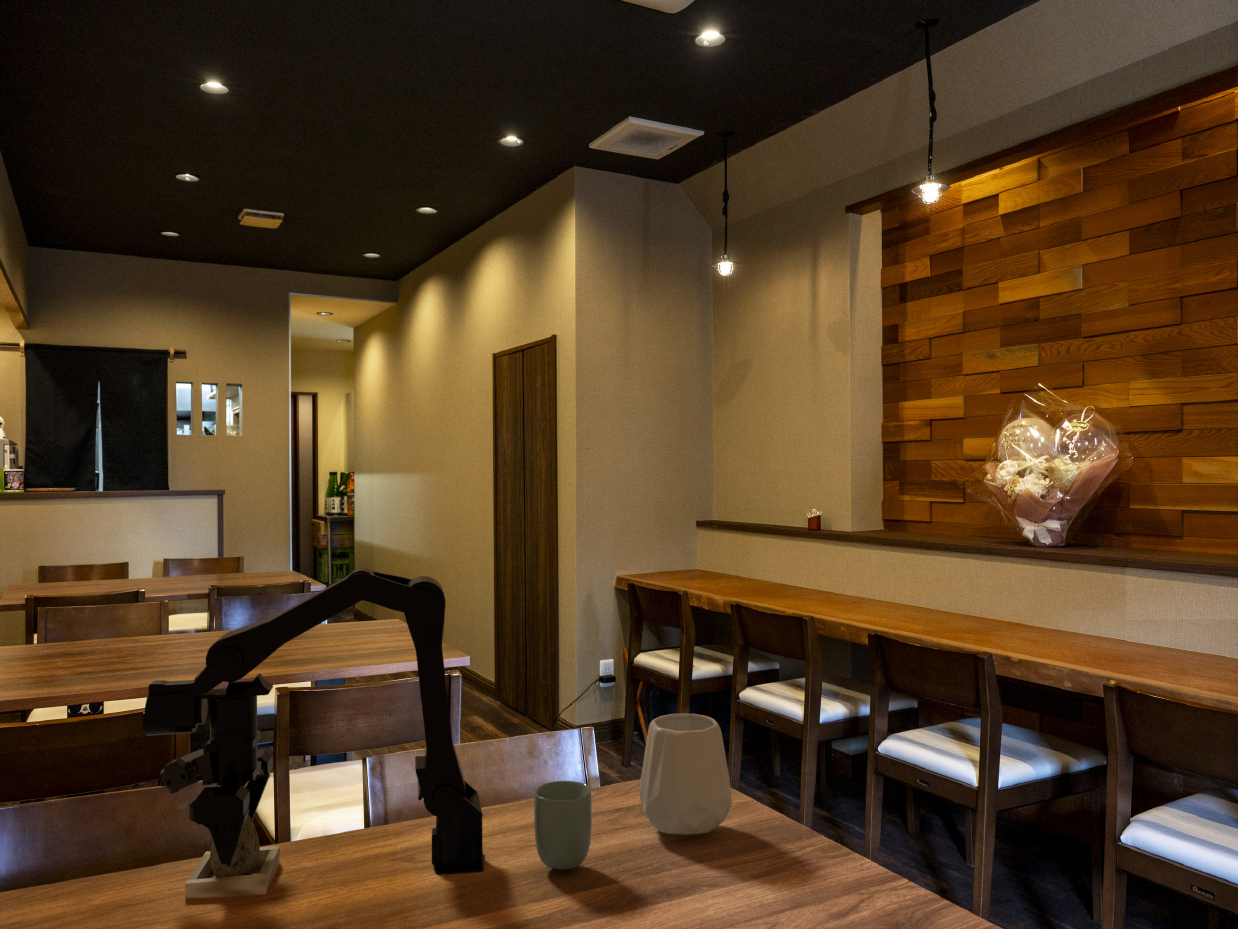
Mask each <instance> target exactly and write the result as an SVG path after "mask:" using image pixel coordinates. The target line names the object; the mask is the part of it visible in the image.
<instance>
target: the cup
mask: <svg viewBox="0 0 1238 929" xmlns="http://www.w3.org/2000/svg"><path fill="white" fill-rule="evenodd" d="M533 798H534V800H533V801H534V804H533V807H534V808H533V809H534V810H533V811H534V818H533V819H534V820H533V821H534V838H535V846H536V850H537V854H538V856H539V859H540V860H541V862H542V863H543V864H544V866H546V867H547V868H551V869H552V870H553V869H554V870H560V871H561V870H562V871H564V870H565V871H566V870H572V869H575V868H578V866H581V865H582V864H583V863H584V861H585V860H586V858H587V857H588V854H589V851H590V848H591V847H590V846H591V840H592V828H593V827H592V819H593V817H592V816H593V814H592V813H593V812H592V808H593V807H592V804H593V802H592V799H593V798H592V789H591V787H590V785H588V784H587V783H584V782H580V781H576V780H575V781H574V780H556V781H555V780H554V781H550V782H546V783H543V784H541V785H539V786H538V787H537V788H536V789H535V792H534V797H533Z"/></svg>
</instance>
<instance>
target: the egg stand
mask: <svg viewBox="0 0 1238 929" xmlns="http://www.w3.org/2000/svg"><path fill="white" fill-rule="evenodd" d="M259 847H260V854H259V860H258V864H257V866H256V868H261V869H260V871H259V873H258V874H252V875H243V876H230V877H218V878H216V877H209V878H208V876H209V875H210V874H209V873H211V872H212V868H211V863H210V852H211V850H210V851H208V850H206V851H205V853H204V854H203V856H202V857H201V859H200V860H199V861H198V863H197V865H196V866H195V868H194V869H193V871H192V872H191V874H190V876H189V877H188V878H187V880H186V881H185V883H184V898H194V899H209V898H211V899H212V898H226V897H245V896H256V895H257V896H260V895H266V894H267V892H268V889H269V887H270V885H271V884H272V880H273V879H274V877H275V875H276V872H277V870H278V868H279V866H280V864H281V851H280V850H281V845H272V846H259Z"/></svg>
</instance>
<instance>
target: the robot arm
mask: <svg viewBox="0 0 1238 929" xmlns="http://www.w3.org/2000/svg"><path fill="white" fill-rule="evenodd" d="M444 593H445V592H444V589H443V587H442V585H441V583H440V582H439V581H438V580H436V579H435V578H434V577H430V576H426V575H425V576H424V575H422V576H417V577H413V579H411V578H408V577H403V576H399V575H395V574H389V573H383V572H378V571H374V570H372V569H370V568H367V567H360V568H356V569H354V570H353V571H352V572H350V574H348V575H346V576H345V577H342V578H341V579H340V580H338V581H336V582H334V583H333V584H330V585H328V586H326V587H325V588H323V589H321V590H319V591H318V592H316V593H314V594H312V595H311V596H309V597H307V598H305V599H304V600H302V601H299V602H298V603H296V604H294V605H292V606H290V607H289V608H287V609H285V610H284V611H282V612H280V613H279V614H277V615H274V616H272V617H269V618H266V619H264V620H260V621H256V622H253V623H249V624H246V625H245V626H242V627H239V628H235V629H233V630H230V631H228V632H226V633H224V634H223V635H222V636H221V637H219V638H218V639H217V640H216V641H215V642H214V643H213V644H211V646H210V647H209V648H208V650H207V654H206V656H205V667H204V669H203V670H201V671H200V672H199V673H198V674H197V675H196V676H195V677H194V679H189V680H188V679H187V680H186V679H185V680H173V681H171V680H165V679H163V680H162V679H161V680H159V679H158V680H153V681H152V682H151V683H150V684H148V694H147V696H146V700H145V707H144V711H143V712H142V728H143V732H144V734H145V736H147V737H151V736H152V737H153V736H163V735H165V736H166V735H177V734H178V735H179V734H192V733H193V734H194V733H196V732H197V730H198V727H199V725H205V723H206V721H207V716H208V700H209V740H208V741H207V742H206V743H205V744H204V745H203V748H200V749H197V750H196V751H193V752H190V753H187V754H186V755H183V756H181V757H178V758H175V759H173V760H172V761H168V762H167V763H166V764H165V765H164V767H163V768H162V769H161V770H160V773H159V776H160V781H159V786H160V787H162V788H163V787H164V788H166V789H167V790H166V791H168V793H169V795H173V794H175V793H176V794H177V793H178V792H180V790H181V789H184V788H186V787H190V786H192V785H194V784H196V783H198V782H200V781H202V782H201V784H202V786H205V787H204V788H203V789H202V790H201V791H200V792H199V793H198V794H197V795H196V796H195V798H194V799H193V800H192V801H191V802H190V804H188V805H189V809H188V810H189V812H188V813H189V815H188V816H189V821H191V822H194V823H195V824H196V825H202V827H203V826H204V827H205V828H207V829H208V831H209V833H210V836H211V838H212V840H213V842H214V845H215V848H216V851H217V854H218V857H219V860H220V863H221V864H222V865H224V864H230V862H231V860H232V857H233V855H234V852H235V849H236V846H237V843H238V841H239V838H240V835H241V832H242V829H243V826H244V824H245V821H246V818H247V815H248V814H249V816H250V817H251V819H252V821H253V820H254V818H255V814H256V812H257V809H258V807H259V804H260V802H261V800H262V798H263V794H264V791H265V790H266V787H267V784H268V782H269V779H270V777H271V772H272V770H273V768H274V766H273V763H274V762H273V757H274V756H273V754H271V753H270V752H269V751H268V750H267V749H258V743H259V741H260V740H261V739H262V735H261V734H262V731H261V730H260V729H259V730H258V696H259V697H260V696H268V695H270V693H271V691H272V689H273V688H274V685H273V683H271V682H269V681H268V680H267V679H265V677H264V676H263V675H262V674H261V673H257V675H256V676H255V678H253V679H252V680H241V679H244V678H245V677H246V676H247V675H248V674H249V673H252V671H253V670H255V669H256V668H257V667H258V666H259V665H261V664H262V663H263V662H265V660H267V659H268V658H269V657H270V656H271V655H272V654H274V653H275V652H276V651H277V650H279V649H280V648H281V647H282V646H284V645H285V644H286V643H288V642H290V641H292V640H294V639H295V638H297V637H299V636H300V635H302V634H304V633H306V632H307V631H310V630H311V629H313V628H315V627H316V626H318V625H321V624H323V623H324V622H326V621H327V620H329V619H330V618H333V617H334V616H337V615H338V614H340V613H341V612H342V613H343V611H345V610H347V609H349V608H350V607H352V606H354V605H356V604H358V603H360V602H362V601H363V602H368V603H372V604H374V605H376V606H380V607H383V608H386V609H390V610H392V611H396V612H400V613H403V615H404V618H405V622H406V624H407V628H408V630H409V634H410V637H411V641H412V642H413V643H412V644H413V646H414V650H415V656H416V664H417V665H416V666H417V673H418V674H417V675H418V683H419V684H418V685H419V692H420V700H421V710H422V717H423V718H422V719H423V729H424V737H425V739H424V740H425V748H424V749H425V750H424V755H417V756H415V757H414V765H415V767H414V768H415V769H414V770H415V774H416V779H417V799H418V800H417V801H421V800H422V799H423V804H424V808H425V809H426V812H428V813H430V814H431V815H433V816H434V817H436V819H435V820H436V822H435V823H436V824H435V827H433V828H432V829H431V865H432V866H434V867H435V868H434V874H435V875H452V874H462V873H463V874H464V873H474V872H475V873H478V872H483V871H484V869H485V866H484V851H483V847H484V846H483V816H484V815H483V810H482V805H481V802H480V801H481V800H480V796H479V792H478V791H477V790H476V789H475V788H474V787H473V786H472V785H471V784H469V782H467V781H466V780H465V776H464V772H463V768H462V765H461V762H460V760H459V756H458V752H457V749H456V746H455V744H454V740H453V736H452V727H451V716H450V707H449V698H448V688H447V680H446V671H445V661H444V653H443V638H444V629H445V628H444V627H445V619H446V618H445V617H446V616H445V615H446V597H445V594H444ZM223 682H225V683H228V684H227V686H226V687H223V688H222V687H221V688H216V687H217V686H218V685H220V684H221V683H223ZM261 770H262V772H263V773H260V771H261ZM214 784H216V786H212V785H214ZM206 786H207V787H206Z"/></svg>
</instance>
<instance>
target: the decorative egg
mask: <svg viewBox="0 0 1238 929" xmlns="http://www.w3.org/2000/svg"><path fill="white" fill-rule="evenodd" d="M260 847H261V846H260V840H259V836H258V832H257V828H256V826H255V823H254V821H253V820H252V819H251V817H250V816H249V814H248V815H247V818H246V821H245V824H244V826H243V829H242V832H241V835H240V838H239V841H238V843H237V846H236V849H235V852H234V855H233V857H232V860H231V862H230V864H224V865H222V864H221V863H220V860H219V857H218V854H217V851H216V848H215V845H214V842H213V839H212V840H211V846H210V851H211V852H210V863H211V868H212V870H211V872H212V873H213V875H214V877H215V878H218V877H230V876H243V875H253V873H254V872H255V870H256V868H257V867H256V866H257V864H258V860H259V854H260Z"/></svg>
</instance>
